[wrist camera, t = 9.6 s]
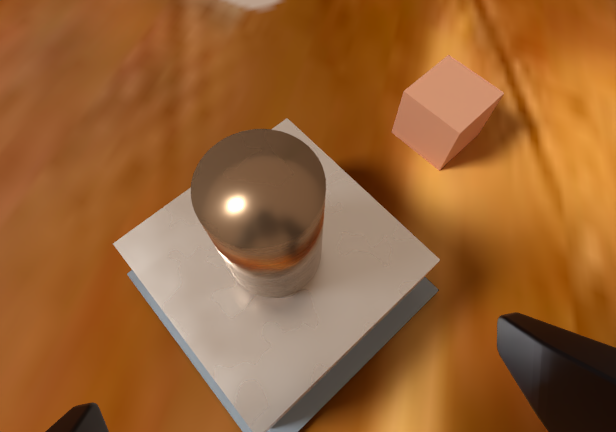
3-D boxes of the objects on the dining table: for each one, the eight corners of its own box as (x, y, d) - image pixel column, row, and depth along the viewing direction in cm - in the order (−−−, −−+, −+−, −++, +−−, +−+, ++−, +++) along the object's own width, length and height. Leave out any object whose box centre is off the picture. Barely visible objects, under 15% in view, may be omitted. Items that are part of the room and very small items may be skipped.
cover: (413, 289, 22) (499, 195, 12) (270, 429, 19) (225, 461, 9) (291, 169, 25) (278, 15, 15) (153, 275, 22) (25, 173, 12)
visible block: (478, 134, 27) (504, 93, 23) (439, 171, 26) (460, 133, 22) (430, 99, 28) (448, 54, 24) (391, 133, 27) (403, 91, 23)
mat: (436, 292, 22) (439, 290, 22) (267, 461, 19) (266, 463, 19) (292, 154, 26) (292, 149, 26) (130, 276, 23) (127, 273, 22)
